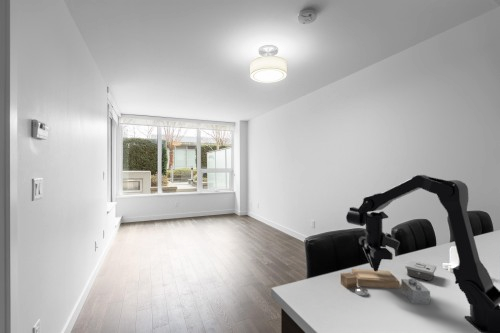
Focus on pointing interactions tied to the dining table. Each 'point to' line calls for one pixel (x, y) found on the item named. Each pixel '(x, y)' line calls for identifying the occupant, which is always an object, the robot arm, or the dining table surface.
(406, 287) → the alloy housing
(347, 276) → the walnut offcut
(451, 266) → the cable organizer
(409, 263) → the electrical switch
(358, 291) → the chrome dome knob
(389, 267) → the dining table surface
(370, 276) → the tan shallow rectangular tray
